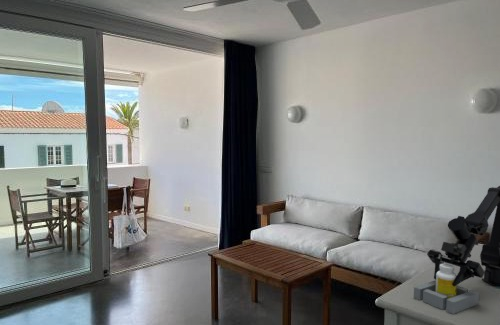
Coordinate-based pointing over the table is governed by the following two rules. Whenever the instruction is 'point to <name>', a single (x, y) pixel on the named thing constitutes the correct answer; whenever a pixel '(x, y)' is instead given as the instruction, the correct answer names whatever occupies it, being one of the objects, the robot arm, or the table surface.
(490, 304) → the table surface
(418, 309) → the table surface
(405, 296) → the table surface
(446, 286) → the supplement bottle
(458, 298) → the cup holder
